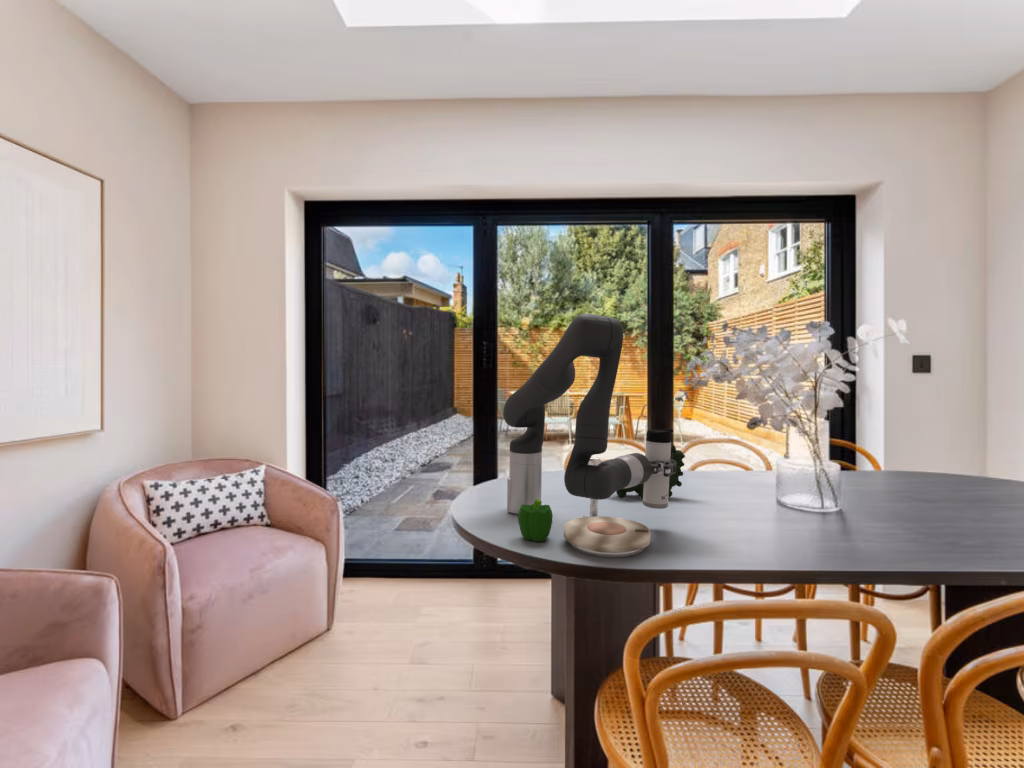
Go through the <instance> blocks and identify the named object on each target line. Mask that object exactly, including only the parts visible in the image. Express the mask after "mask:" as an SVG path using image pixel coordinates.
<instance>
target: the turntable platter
mask: <svg viewBox="0 0 1024 768" xmlns="http://www.w3.org/2000/svg"><path fill="white" fill-rule="evenodd" d="M651 535H652V534H651V529H650V528H649V527H648V526H646V525H645V524H643V523H640V522H638V521H635V520H631V519H627V518H622V517H614V516H593V517H590V516H588V517H583V516H582V517H578V518H577V517H576V518H574V519H570V520H568V521H567V522H565V523H564V525H563V538H564V540H566V541H567V542H568V543H569V544H570V543H572V544H574V545H576V546H579V547H582V548H586V549H591V550H596V551H605V552H627V551H634V550H639V549H642V548H643V549H645V548H646V547H649V545H650V544H651V537H652V536H651Z"/></svg>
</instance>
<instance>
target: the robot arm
mask: <svg viewBox="0 0 1024 768" xmlns="http://www.w3.org/2000/svg"><path fill="white" fill-rule="evenodd" d="M623 342H624V328H623V325H622V323H621V321H620V320H619V319H618V318H615V317H611V316H606V315H599V314H595V313H594V314H593V313H581V314H579V315H577V316H575V317H574V319H573V320H572V321H571V322H570V324H569V325H568V326H567V328H566V330H565V332H564V333H563V335H562V336H561V338H560V339H559V341H558V343H557V344H556V345H555V347H554V348H553V349H552V350H551V352H550V353H549V355H548V356H547V357H546V358H545V359H544V360H543V361H542V363H540V365H539V366H538V367H537V368H536V370H535V371H534V372H533V373H532V375H531V376H530V377H529V378H528V379H527V380H526V381H525V382H524V383H523V385H521V387H519V388H518V389H517V390H516V391H514V392H513V393H512V394H511V395H509V397H508V398H507V399H506V401H505V403H504V407H503V419H504V421H505V423H506V424H507V425H508V426H509V427H511V428H517V429H519V428H520V429H521V428H526V431H525V432H524V433H523V434H522V435H520V436H518V437H517V438H513V439H512V440H511V441H510V443H509V468H508V469H509V471H508V472H509V473H508V474H509V477H508V478H507V480H506V481H507V488H506V489H507V492H506V493H507V495H506V496H507V497H506V501H507V502H506V511H507V513H512V514H514V515H518V513H519V510H520V507H521V505H531V504H534V501H535V500H536V499H539V500H541V501H542V482H543V481H542V476H543V475H542V472H543V471H542V470H543V467H542V466H543V465H542V463H543V444H544V440H545V439H544V438H545V437H544V435H545V419H546V406H545V405H546V404H548V403H551V402H553V401H556V400H557V399H559V398H561V397H562V396H563V395H564V394H565V393H566V392H567V391H568V390H569V389H570V388H571V387H572V385H573V384H574V382H575V380H576V368H575V364H574V361H575V360H576V359H577V358H579V357H587V358H596V359H598V358H599V363H598V364H599V365H598V372H597V375H596V377H595V380H594V381H593V383H592V385H591V387H590V388H589V390H588V391H587V393H586V395H584V398H583V399H582V401H581V402H580V405H579V407H578V409H577V412H576V419H575V428H574V429H575V430H574V432H575V433H574V436H575V437H574V444H573V446H572V450H571V453H570V456H569V459H568V462H567V465H566V468H565V471H564V478H563V479H564V486H565V489H566V491H567V492H568V493H569V494H570V495H571V496H574V497H579V498H586V499H589V500H590V499H597V500H598V501H599V500H607V499H609V498H610V497H611V496H612V495H614V494H615V493H616V490H619V489H623V488H630V487H633V486H636V485H639V484H643V483H645V482H646V481H648V479H649V478H650V477H651V476H653V475H657V474H663V473H664V474H663V475H664V476H665V477H668V476H671V475H673V474H675V473H676V461H675V460H671V459H670V461H662V460H651V459H647V458H646V457H645V454H642V453H640V452H632V453H628V454H625V455H618V456H617V457H615V458H611V459H607V460H604V461H603V460H602V462H601V463H600V464H598V465H597V466H594V465H588V463H589V460H590V458H592V457H593V456H594V455H601V454H603V453H605V452H606V451H607V449H608V443H609V442H608V441H609V440H608V438H609V423H610V422H609V421H610V412H611V411H610V410H611V404H612V397H613V393H614V388H615V383H616V379H617V375H618V371H619V370H618V369H619V364H620V360H621V356H622V349H623V345H624V344H623ZM657 463H658V465H657ZM664 464H665V465H664ZM663 465H664V468H663ZM540 505H542V503H541V504H540Z"/></svg>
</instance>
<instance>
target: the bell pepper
mask: <svg viewBox="0 0 1024 768" xmlns="http://www.w3.org/2000/svg"><path fill="white" fill-rule="evenodd" d="M542 502H543V501H542V499H541V500H539V499H536V500H535V501H534V504H531V505H521V507H520V510H519V513H518V514H517V516H518V519H517V520H518V521H517V522H518V525H519V529H520V534H521V536H522V537H523V539H524V540H528V541H529V540H531V541H533V542H544V541H546V540H547V539H548V537H549V535H550V532H551V529H552V524H553V516H554V515H553V511H552V509H551V506H550V505H549V504H544V505H542ZM540 504H541V505H540Z"/></svg>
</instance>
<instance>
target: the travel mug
mask: <svg viewBox="0 0 1024 768" xmlns="http://www.w3.org/2000/svg"><path fill="white" fill-rule="evenodd" d="M672 433H674V429H673V428H656V429H649V430H647V431H646V437H645V449H644V450H645V452H644V456H645V457H646V458H647V459H651V460H662V461H670V460H671V457H672V454H671V444H672ZM657 465H658V463H657ZM664 465H665V464H664ZM664 465H663V468H664ZM663 474H664V473H663ZM663 474H657V475H653V476H651V477H650V478H649V479H648V481H646V482H645V483H644V490H643V498H642V504H643V506H644V507H647V508H651V509H657V510H662V509H666V508H668V507H669V497H668V495H669V476H668V477H665V476H664V475H663Z"/></svg>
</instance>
